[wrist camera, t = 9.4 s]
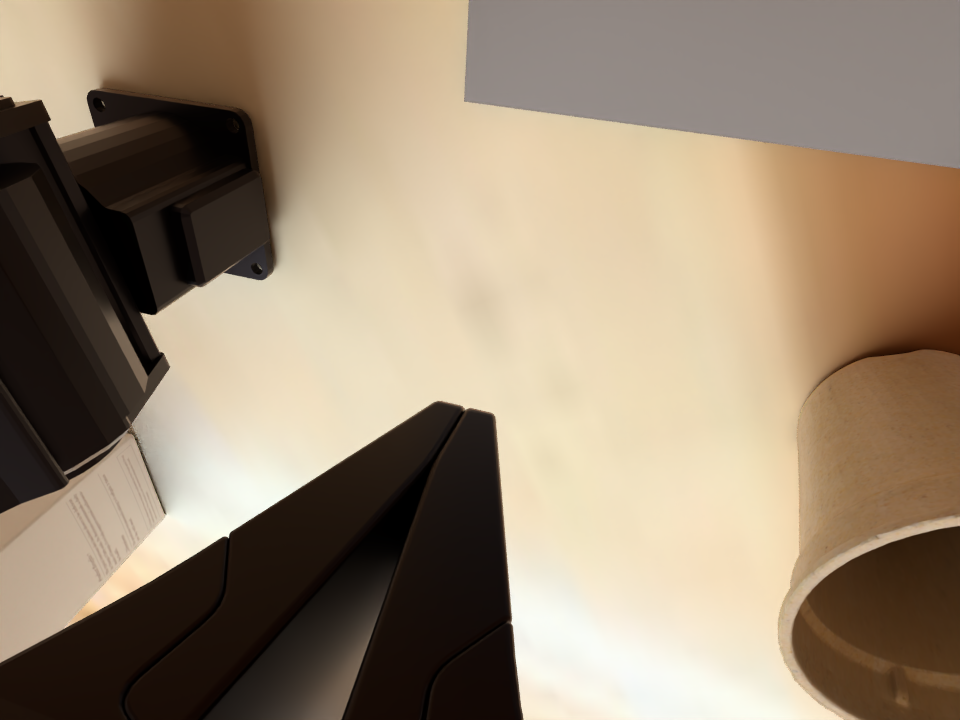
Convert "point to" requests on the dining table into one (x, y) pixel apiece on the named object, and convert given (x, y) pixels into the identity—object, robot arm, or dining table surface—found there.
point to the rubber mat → (733, 69)
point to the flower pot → (879, 541)
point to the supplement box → (71, 545)
